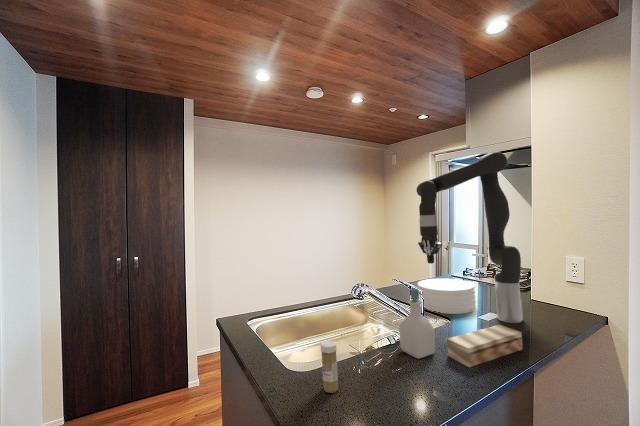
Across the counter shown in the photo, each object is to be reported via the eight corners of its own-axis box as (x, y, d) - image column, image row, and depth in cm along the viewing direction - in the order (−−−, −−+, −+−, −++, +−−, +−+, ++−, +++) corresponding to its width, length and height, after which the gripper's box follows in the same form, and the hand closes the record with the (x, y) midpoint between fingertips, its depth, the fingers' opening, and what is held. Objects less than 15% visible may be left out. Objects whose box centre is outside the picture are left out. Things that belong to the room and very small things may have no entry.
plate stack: (410, 308, 154) (409, 286, 154) (429, 295, 175) (428, 276, 175) (468, 317, 136) (466, 293, 136) (481, 302, 157) (480, 281, 157)
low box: (499, 340, 110) (498, 324, 110) (522, 349, 102) (521, 332, 102) (447, 356, 100) (446, 338, 100) (469, 367, 92) (467, 348, 92)
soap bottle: (418, 361, 97) (414, 293, 98) (398, 351, 106) (394, 288, 106) (438, 354, 102) (434, 289, 102) (417, 344, 110) (413, 284, 111)
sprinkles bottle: (319, 391, 84) (317, 344, 84) (329, 383, 87) (327, 338, 88) (332, 396, 81) (329, 348, 81) (341, 388, 84) (339, 342, 85)
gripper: (446, 224, 127) (448, 264, 127) (424, 224, 140) (426, 260, 139) (432, 225, 125) (435, 266, 124) (412, 225, 137) (414, 262, 136)
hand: (430, 263), depth 132 cm, fingers closed
